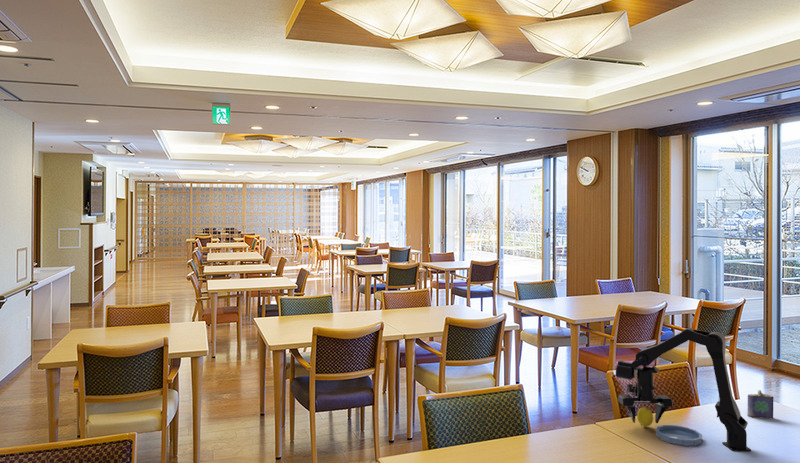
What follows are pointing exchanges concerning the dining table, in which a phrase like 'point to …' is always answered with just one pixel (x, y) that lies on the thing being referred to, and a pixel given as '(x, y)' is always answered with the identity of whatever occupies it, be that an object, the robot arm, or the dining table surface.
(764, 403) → the flask
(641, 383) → the robot arm
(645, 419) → the lemon
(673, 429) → the light blue round dish
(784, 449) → the dining table surface
